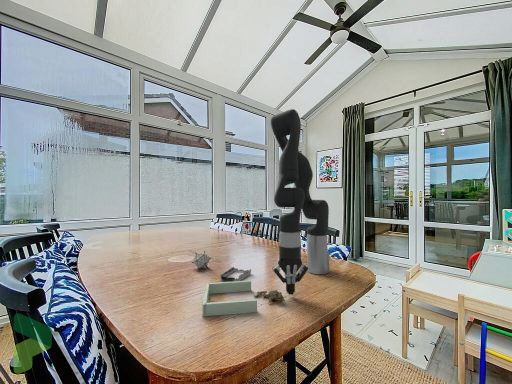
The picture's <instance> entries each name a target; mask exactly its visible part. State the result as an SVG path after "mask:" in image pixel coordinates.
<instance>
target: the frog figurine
mask: <svg viewBox="0 0 512 384" xmlns="http://www.w3.org/2000/svg"><path fill="white" fill-rule="evenodd" d="M259 298H263V299H262V301H264V300H265V302H266V301H268V302H269V303H267V305H269V306H274V302H275V301H281V302H282V303H283V302H286V300H285V297H284V296H283V295H282V291H278V289H276V290H269V291H267V290H261V291H257V292H256V293H254V295H253V299H257V300H258V299H259ZM262 301H261V302H262ZM257 305H261V306H264V307H265V306H266V305H265V304H261V303H258V302H257Z"/></svg>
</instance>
